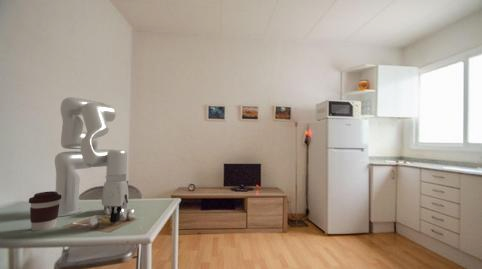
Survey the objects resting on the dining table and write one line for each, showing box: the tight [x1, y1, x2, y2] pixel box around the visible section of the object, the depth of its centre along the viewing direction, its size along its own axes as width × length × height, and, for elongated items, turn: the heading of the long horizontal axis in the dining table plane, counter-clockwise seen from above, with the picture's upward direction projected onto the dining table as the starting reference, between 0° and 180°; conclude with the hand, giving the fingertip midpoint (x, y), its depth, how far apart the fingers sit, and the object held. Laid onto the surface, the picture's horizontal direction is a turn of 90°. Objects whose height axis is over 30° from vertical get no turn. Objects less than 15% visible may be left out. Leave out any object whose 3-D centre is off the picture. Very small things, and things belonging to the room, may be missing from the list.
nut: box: [101, 216, 112, 225], centre depth 91 cm, size 4×5×2 cm
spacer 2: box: [120, 209, 125, 220], centre depth 96 cm, size 3×3×4 cm
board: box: [62, 214, 139, 234], centre depth 91 cm, size 24×16×1 cm, turn 76°
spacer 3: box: [125, 208, 135, 221], centre depth 95 cm, size 3×3×4 cm
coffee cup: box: [28, 190, 62, 231], centre depth 87 cm, size 10×10×15 cm
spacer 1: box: [89, 214, 100, 229], centre depth 85 cm, size 3×3×4 cm
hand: (115, 221), depth 90 cm, fingers closed
